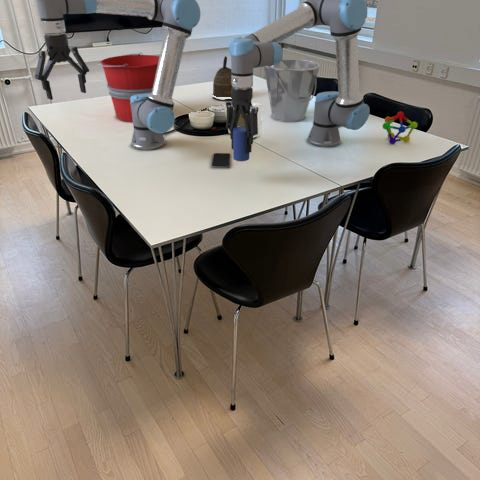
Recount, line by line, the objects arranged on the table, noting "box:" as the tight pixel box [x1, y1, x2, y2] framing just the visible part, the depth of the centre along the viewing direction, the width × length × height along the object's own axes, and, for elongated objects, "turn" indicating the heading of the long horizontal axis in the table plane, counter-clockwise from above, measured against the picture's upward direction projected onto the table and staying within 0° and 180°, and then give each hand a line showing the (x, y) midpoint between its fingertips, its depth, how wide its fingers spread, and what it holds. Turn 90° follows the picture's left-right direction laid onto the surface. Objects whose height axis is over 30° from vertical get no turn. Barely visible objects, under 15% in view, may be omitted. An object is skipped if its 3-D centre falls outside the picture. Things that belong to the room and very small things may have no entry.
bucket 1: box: [97, 52, 160, 123], centre depth 239 cm, size 35×35×30 cm
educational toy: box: [382, 110, 418, 145], centre depth 207 cm, size 16×13×15 cm
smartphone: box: [211, 152, 231, 169], centre depth 190 cm, size 7×1×15 cm
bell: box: [212, 56, 232, 97], centre depth 278 cm, size 19×26×20 cm
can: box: [232, 125, 250, 162], centre depth 166 cm, size 6×6×12 cm
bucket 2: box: [263, 58, 321, 123], centre depth 238 cm, size 30×30×28 cm
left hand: (67, 95), depth 166 cm, fingers open, 13 cm apart
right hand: (241, 150), depth 167 cm, fingers closed on can, 6 cm apart
